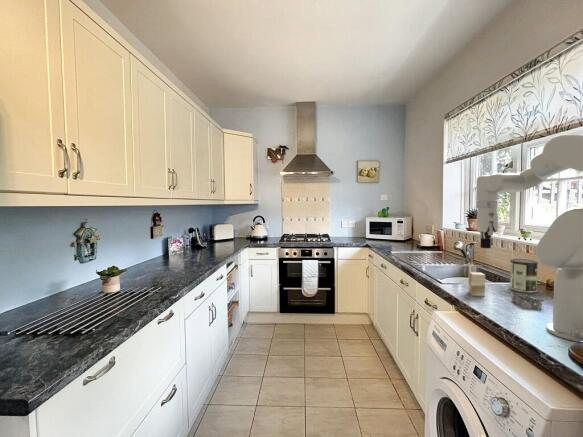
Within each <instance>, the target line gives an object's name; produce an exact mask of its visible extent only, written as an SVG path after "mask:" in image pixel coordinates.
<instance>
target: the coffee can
mask: <svg viewBox="0 0 583 437" xmlns="http://www.w3.org/2000/svg"><path fill="white" fill-rule="evenodd" d="M509 260H510V261H509V262H510V271H509V273H510V277H509V279H510V284H509V289H510V290H513V291H515V292H522V293H530V294H531V293H532V294H533V293H537V292H538V290H537V289H538V288H537V287H538V286H537V285H538V265H539V261H536V260H533V259H524V258H511V259H509Z"/></svg>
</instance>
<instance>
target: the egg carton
mask: <svg viewBox="0 0 583 437" xmlns="http://www.w3.org/2000/svg"><path fill="white" fill-rule="evenodd" d="M510 295H511V302H512V303H513V302H514V303H516V305H517V306H521V308H524V309H525V308H526V309H528V310H529V309H530V310H531V309H537V310H541V309H542V306H543V304H542V302H544V299H543V298H536V297H532V296H529V295H528V294H523V293H516V292H515V293H513V292H510Z"/></svg>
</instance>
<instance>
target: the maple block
mask: <svg viewBox="0 0 583 437" xmlns="http://www.w3.org/2000/svg"><path fill="white" fill-rule="evenodd" d="M467 282H468V288H467V289H468V290H467V293H468V294H469V295H471V297H483V298H484V297H485V294H486V293H485V292H486V274H485V273H483V272H480V271H468V281H467Z"/></svg>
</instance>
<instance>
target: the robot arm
mask: <svg viewBox="0 0 583 437" xmlns="http://www.w3.org/2000/svg"><path fill="white" fill-rule="evenodd" d="M568 169H570V170H575V171H577V172H582V173H583V135H582V134H579V135H578V134H560V135H556V136H554V137H552V138H550V139H549V140H548V141H547V142H546V143H544V145H543V147H542V151H541V152H540V153H538V154H535V155H534V156H532V157H531V158H530V160H529V168H527V169H525V170H523V171H520V172H516V173H515V172H510V173H509V172H504V173H503V172H499V173H492V174H489V175H487V174H486V175H480V176H478V177H477V178H476V187H475V188H476V190H475V191H476V194H475V196H476V197H475V209H477V213H476V230H477V231H479V234H480V249H481V248H482V249H491V246H492V244H491V243H492V236H494V233H497V232H498V231H499V217H498V202H499V201H498V200H499V199H498V196H499V193H519V192H523V191H526V190H529V189H531V188H534V187H536V186H539V185H540V184H542V183H544V182H545V181H546V180H547V179H549V177H552V176H553V175H557V174H558V173H562V172H563V171H567V170H568ZM535 255H536V258H537V260H538V262H539V263H541V264H542V265H543V266H545V267H548V268H550V269H551V268H552V269H556V271H555V275H554V283H553V287H554V288H553V308H552V309H553V310H552V322H550V323H548V324H546V327H545V329H546V330H547V332H549V333H550V334H552V335H553V336H557V337H559V338H562V339H565V340H568V341H573V342H577V343H581V342H580V341H583V207H581V206H580V207H572V208H569V209H567V210H565V211H562V213H560V214H559V215H557V217H556V218H555V219H554V221H553V222H552V224H550V226H549V228H548V229H547V230H546V232H545V233H544V234H543V236H542V237H541V238H540V239H539V241H538V243H537V245H536V248H535Z"/></svg>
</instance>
